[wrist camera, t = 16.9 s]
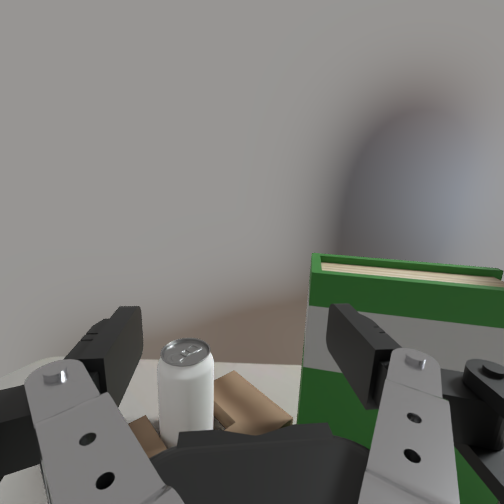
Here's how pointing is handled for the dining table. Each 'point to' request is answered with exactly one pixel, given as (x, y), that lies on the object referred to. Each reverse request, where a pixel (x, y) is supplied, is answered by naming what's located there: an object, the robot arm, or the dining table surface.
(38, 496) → the dining table surface
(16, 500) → the dining table surface
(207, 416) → the can
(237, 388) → the notched board
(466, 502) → the hardback book
